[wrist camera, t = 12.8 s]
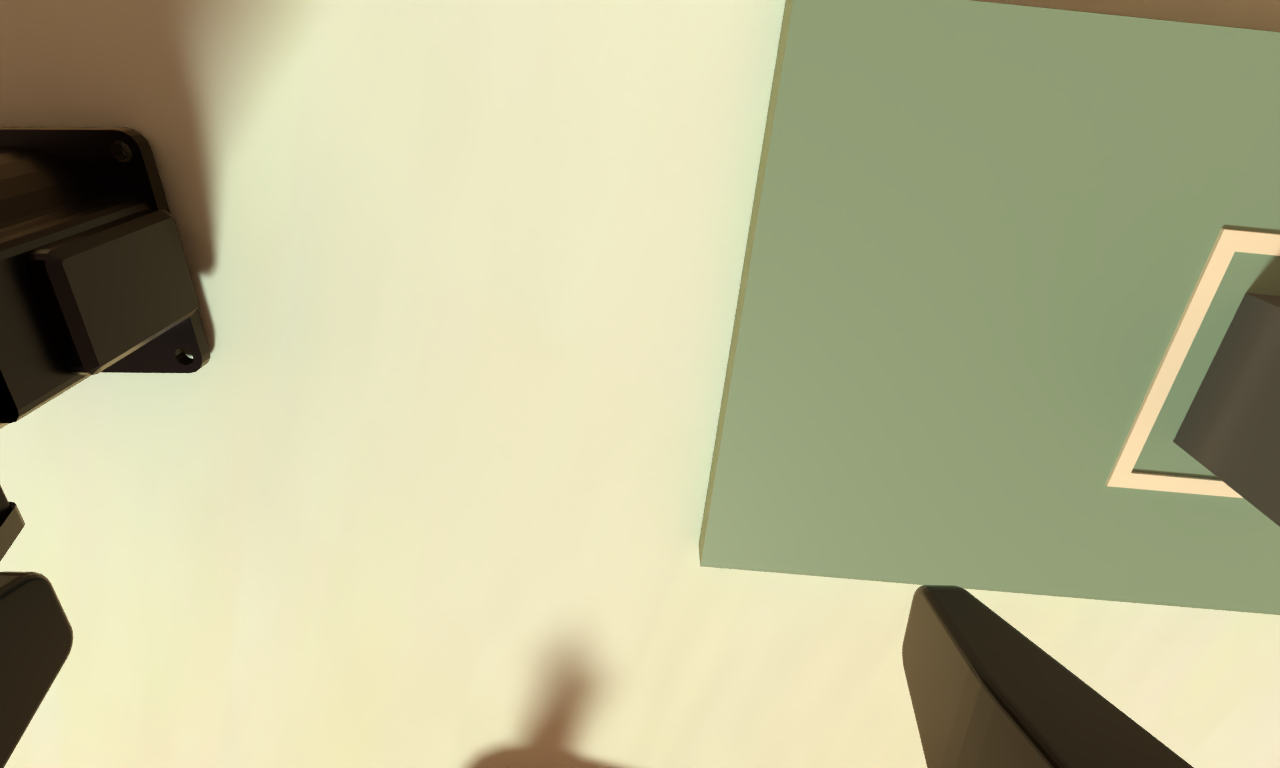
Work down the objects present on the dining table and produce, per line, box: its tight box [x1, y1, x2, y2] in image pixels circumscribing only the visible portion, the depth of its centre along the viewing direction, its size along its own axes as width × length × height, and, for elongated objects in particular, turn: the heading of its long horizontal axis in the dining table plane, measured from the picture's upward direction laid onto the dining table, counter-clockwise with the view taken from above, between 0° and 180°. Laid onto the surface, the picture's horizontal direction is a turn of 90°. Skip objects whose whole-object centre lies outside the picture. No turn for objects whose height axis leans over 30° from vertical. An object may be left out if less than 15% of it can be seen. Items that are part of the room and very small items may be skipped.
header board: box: [699, 0, 1280, 615], centre depth 19 cm, size 20×16×2 cm
